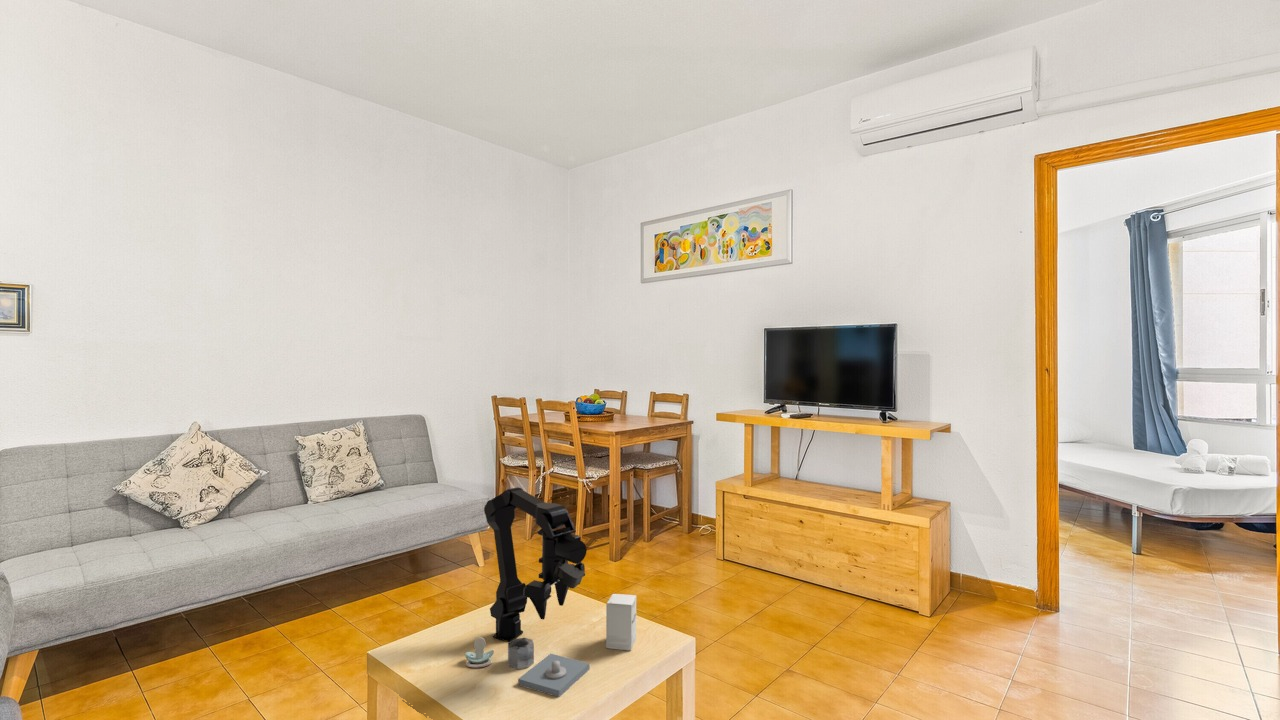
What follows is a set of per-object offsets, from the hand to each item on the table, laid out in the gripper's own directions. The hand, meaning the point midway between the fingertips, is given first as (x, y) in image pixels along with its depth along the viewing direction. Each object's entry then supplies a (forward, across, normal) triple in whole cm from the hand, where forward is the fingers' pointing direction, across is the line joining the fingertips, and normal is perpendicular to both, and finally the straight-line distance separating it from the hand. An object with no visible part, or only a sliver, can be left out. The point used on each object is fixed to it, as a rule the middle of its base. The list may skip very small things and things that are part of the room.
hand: (552, 612), depth 158 cm
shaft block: (+12, -7, -6) cm, 16 cm away
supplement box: (+13, +16, -13) cm, 24 cm away
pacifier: (+13, -9, +16) cm, 23 cm away
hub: (+13, -5, +6) cm, 15 cm away
